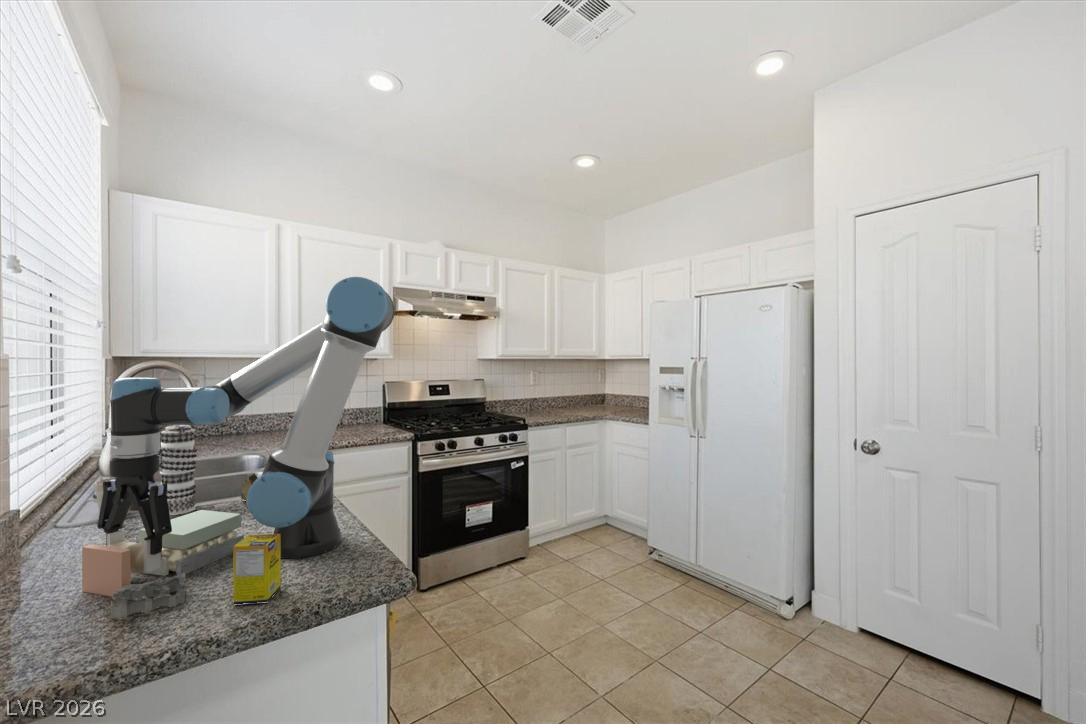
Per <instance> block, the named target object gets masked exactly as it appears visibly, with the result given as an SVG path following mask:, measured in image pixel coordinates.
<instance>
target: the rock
mask: <svg viewBox="0 0 1086 724" xmlns="http://www.w3.org/2000/svg"><path fill="white" fill-rule="evenodd" d="M257 478H258V476H257V474H256V473H255V472H253V473H252V474H251V475H249V476H248V477H246V479H245V480H244V482H243V483H242V486H241V489H240V490H241V491H240V499H244V500H246V501H247V495H248V491H249V489H250V487H251V486H252V484H253V483H254V481H255V480H256V479H257Z"/></svg>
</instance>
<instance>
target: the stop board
mask: <svg viewBox="0 0 1086 724" xmlns="http://www.w3.org/2000/svg"><path fill="white" fill-rule="evenodd" d="M81 548H82V555H81V558H82V561H81V562H82V563H81V566H82V567H81V568H82V571H81V574H82V575H81V577H82V578H81V592H82V591H83V592H84V593H88V594H95V595H100V596H107V597H111V598H112V597H113V594H114V593H115V592H116V591H117V590H119V589H121V588H122V587H124V586H126V585H130V572H131V571H130V549H123V548H116V547H108V546H106V545H101V544H93V543H92V544H88V545H85V546H82V547H81Z"/></svg>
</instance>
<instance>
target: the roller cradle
mask: <svg viewBox="0 0 1086 724" xmlns="http://www.w3.org/2000/svg"><path fill="white" fill-rule="evenodd" d="M166 561H167V558H164V557H162V559H161V567H160V568H157V569H155V570H152V571H150V572H148V573H147V574H150V575H156V576H163V577H166V576H167V575H169V573H170V571H169V569H168V568H167V566H166ZM131 572H132V571H130V584H132V583H131V577H132V576H131Z"/></svg>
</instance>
